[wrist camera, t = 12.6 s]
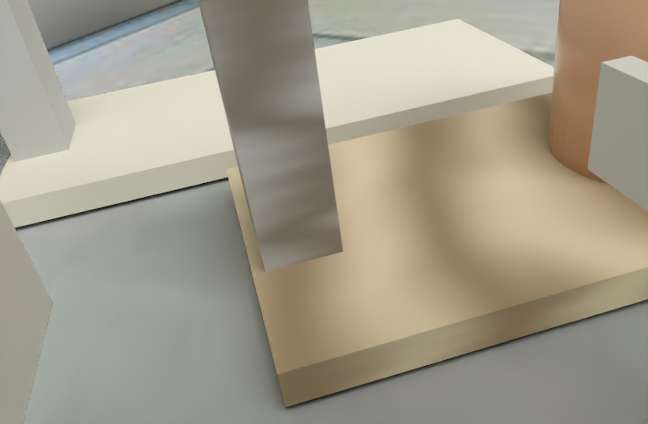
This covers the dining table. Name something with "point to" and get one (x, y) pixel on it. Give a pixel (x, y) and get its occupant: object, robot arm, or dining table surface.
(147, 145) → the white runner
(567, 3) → the tan rounded cylinder
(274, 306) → the oak runner
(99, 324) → the dining table surface
